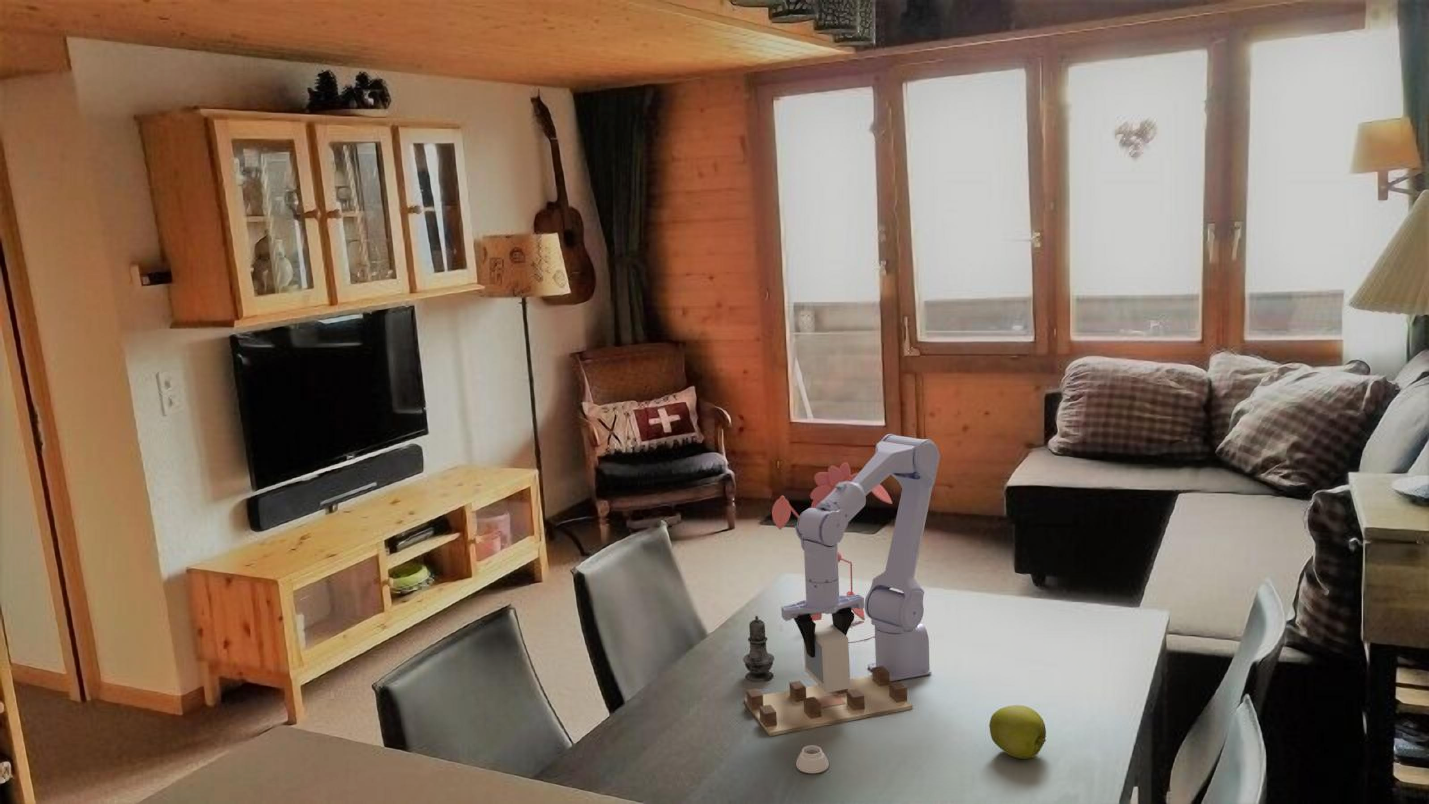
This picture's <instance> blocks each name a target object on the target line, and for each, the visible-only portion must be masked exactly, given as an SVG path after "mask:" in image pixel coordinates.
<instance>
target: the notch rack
mask: <svg viewBox="0 0 1429 804" xmlns="http://www.w3.org/2000/svg"><path fill="white" fill-rule="evenodd" d="M871 671H872V675H865V676H861V677H855V678H854V677H853V678H850V689H844V690H839V691H833V692H828V693H826V692H825V691H824V690H823V689H822V688H821V687H820V686H819V685H818V684H816V685H811V686H805V685H804V683H803V682H802V681H801V680H796V681H790V682H789V690H782V691H776V692H772V693H767V694H766V693H765V694H763V693H762V692H761V691H760V690H759V689H758V688H757V687H756V688H751V689H746V697H744V698H743V702H744V703H745V705H746V707H747V708H748V709H749V711H750V712H751V713H752V714H753V716H754V717H755V719H757V721H758V723H759V724H760V725H761V727H762V728H763V729H764V731H766V734H768V736H769V737H772V736H777V735H784V734H787V733H792V732H797V731H803V730H809V729H814V728H819V727H825V726H829V725H833V724H834V725H836V724H839V723H844V722H850V721H855V720H861V719H866V718H871V717H876V716H882V715H886V714H892V713H896V712H903V711H907V710H912V709H913V704H912V703H911V702H909V700H908V688H907V686H905V685H904V684H903V683H902V682H901V680H896V681H890V675H889V671H887V670H886V669H885V668H884V667H883V666H879V667H874V668H872V670H871Z"/></svg>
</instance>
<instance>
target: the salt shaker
mask: <svg viewBox="0 0 1429 804" xmlns="http://www.w3.org/2000/svg"><path fill="white" fill-rule="evenodd" d="M765 625H766V624H765V622H764V621H763V620H761V619H759V616H758V615H755V617H754V619H753V620H751V621H750V623H749V627H748V629H749V637H748V639H747V641H748V643H749V653H748V654H746V655H744V656H743V657H742V661H743V662H744V665H745V668H746V669H747V671H748V672H747V673H746V674H745V676H744V677H745V679H746V680H747V681H749V682H752V683H766V682H770V681H771V680H772V679H774V673H773V672H772V671H770V670H771V669H772V667H773V665H774V661H775V656H774V655H773V654H771V653H769V652H768V651H767V641H768V637H767V636H766V626H765Z"/></svg>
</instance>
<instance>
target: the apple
mask: <svg viewBox="0 0 1429 804" xmlns="http://www.w3.org/2000/svg"><path fill="white" fill-rule="evenodd" d="M988 725H989V733H990V737H991V740H992V742H993V743H994V744H995V745H997V746H996V747H998V748H1000V749H1001V750H1002V751H1004V753H1006V754H1007V755H1009V756H1011V757H1013V758H1017V759H1023V760H1027V759H1031V758H1034V757H1035V756H1037V755H1038V754H1039V753H1040V751H1041V749H1042V748H1043V746H1044V744H1045V743H1046V742H1047V740H1046V737H1047V730H1046V724H1045V721H1044V719H1043V718H1042V716H1041V715H1040V714H1039V713H1038V711H1036V710H1035V709H1033V708H1031V707H1029V706H1027V705H1020V704H1015V705H1009V706H1005V707H1002V708H1000V709H997V710H996V711H995V712H994V713H993V714H992V715H991V717H990V720H989V724H988Z"/></svg>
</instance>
